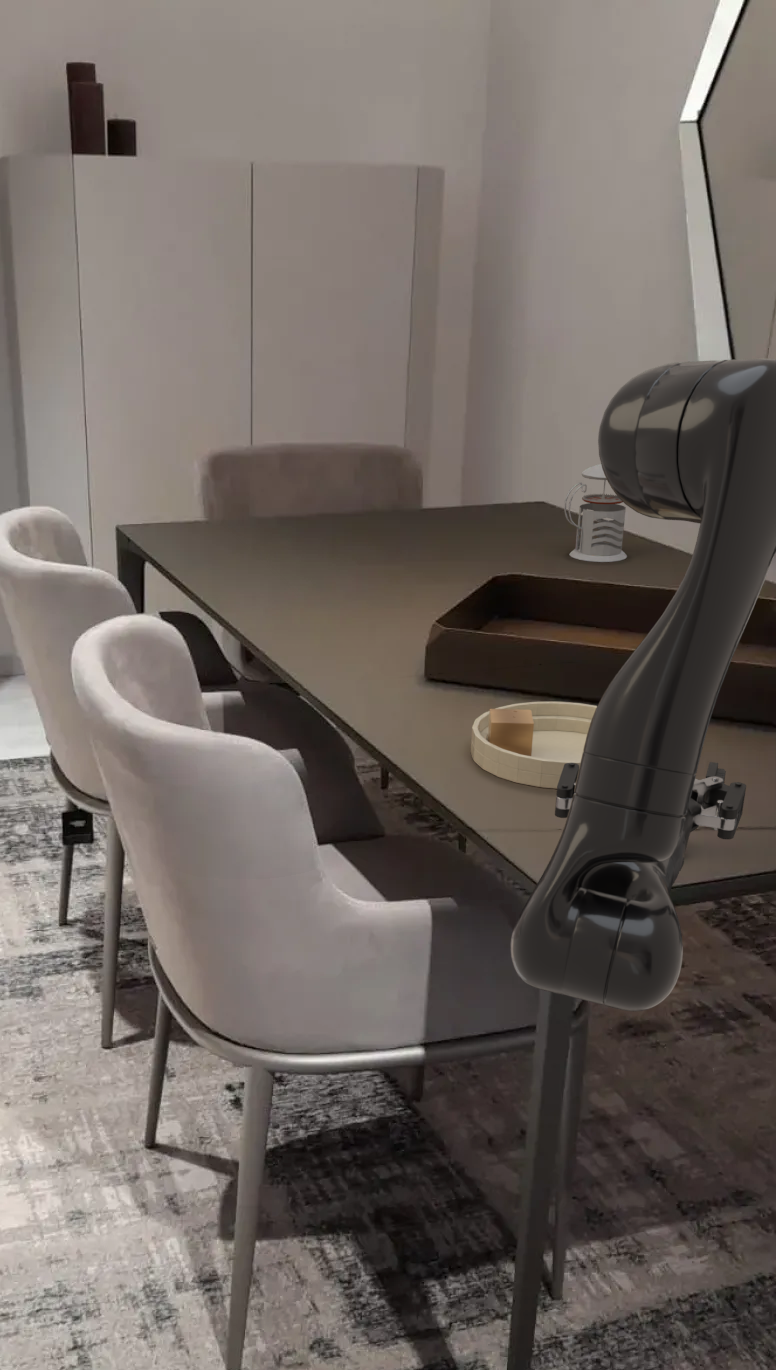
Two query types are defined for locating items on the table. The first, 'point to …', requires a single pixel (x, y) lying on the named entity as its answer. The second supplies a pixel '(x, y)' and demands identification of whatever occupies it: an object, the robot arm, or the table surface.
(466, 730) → the table surface
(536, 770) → the round cream tray
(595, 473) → the french press
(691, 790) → the robot arm
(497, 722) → the block
